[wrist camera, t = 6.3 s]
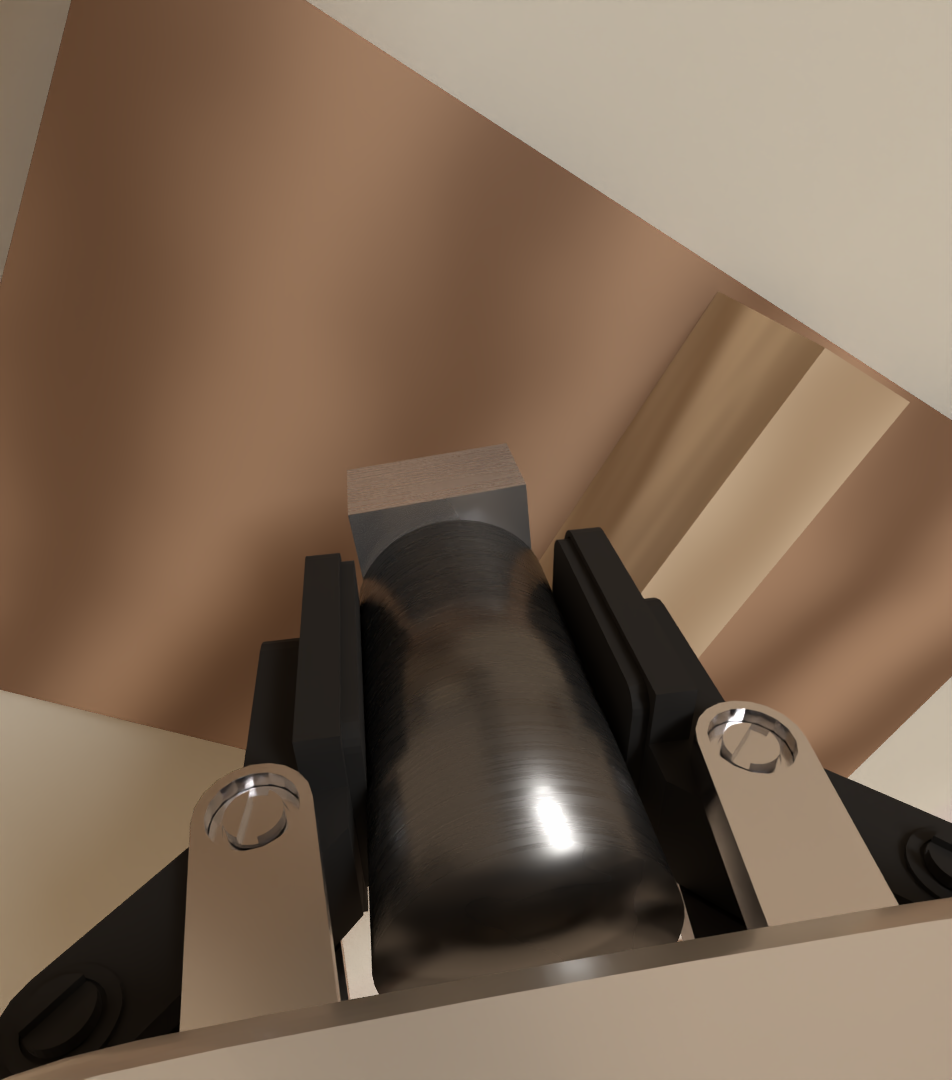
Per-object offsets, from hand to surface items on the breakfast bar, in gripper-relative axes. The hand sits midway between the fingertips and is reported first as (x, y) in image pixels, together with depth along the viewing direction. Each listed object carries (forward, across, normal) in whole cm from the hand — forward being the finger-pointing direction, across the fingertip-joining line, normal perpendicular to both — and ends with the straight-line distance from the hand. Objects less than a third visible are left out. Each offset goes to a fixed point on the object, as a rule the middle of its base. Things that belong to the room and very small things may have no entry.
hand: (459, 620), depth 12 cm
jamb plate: (+8, -4, +5) cm, 10 cm away
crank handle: (+2, 0, +5) cm, 5 cm away
